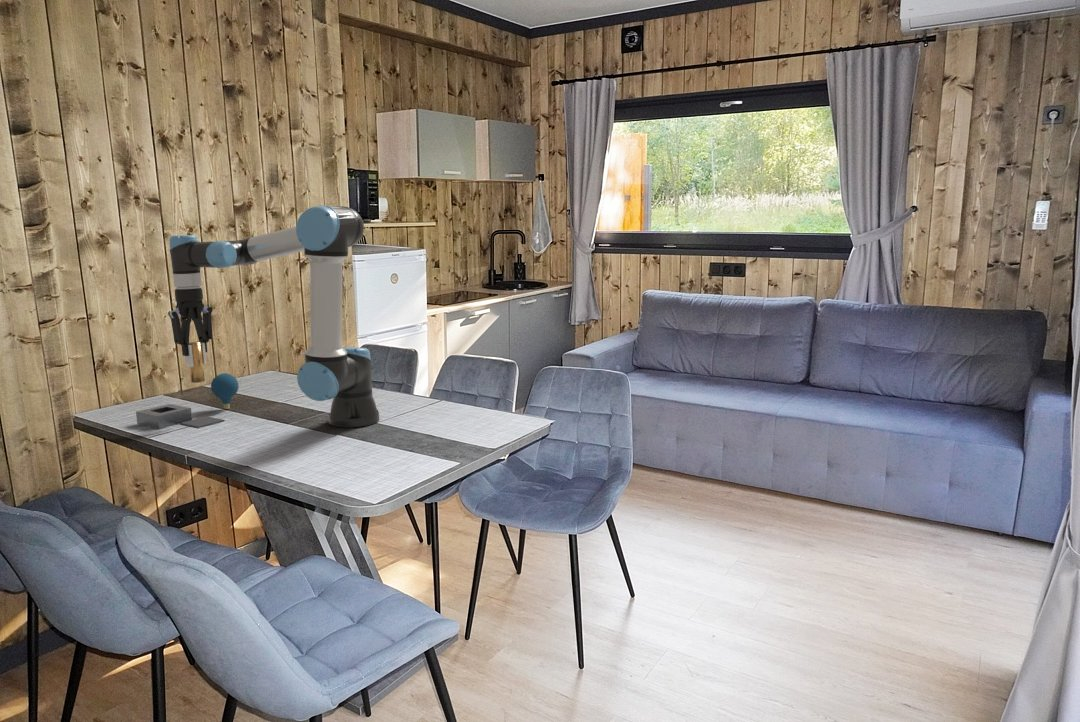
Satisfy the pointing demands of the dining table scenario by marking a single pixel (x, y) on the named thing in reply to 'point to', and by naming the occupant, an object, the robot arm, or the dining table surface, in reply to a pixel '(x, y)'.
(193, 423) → the mat
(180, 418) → the block
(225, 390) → the light bulb
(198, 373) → the golden cylinder
